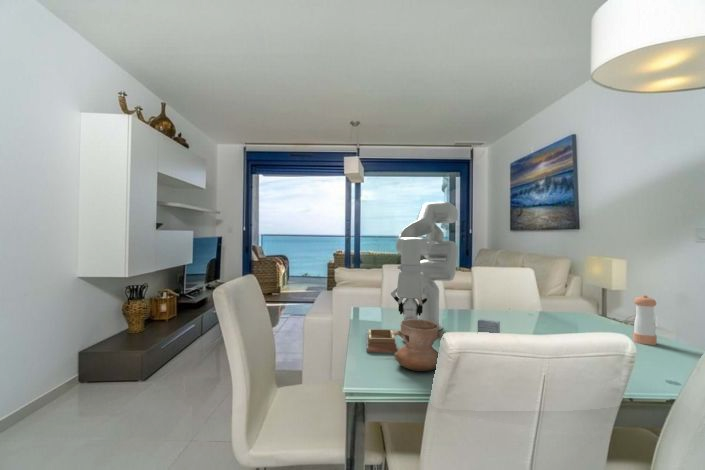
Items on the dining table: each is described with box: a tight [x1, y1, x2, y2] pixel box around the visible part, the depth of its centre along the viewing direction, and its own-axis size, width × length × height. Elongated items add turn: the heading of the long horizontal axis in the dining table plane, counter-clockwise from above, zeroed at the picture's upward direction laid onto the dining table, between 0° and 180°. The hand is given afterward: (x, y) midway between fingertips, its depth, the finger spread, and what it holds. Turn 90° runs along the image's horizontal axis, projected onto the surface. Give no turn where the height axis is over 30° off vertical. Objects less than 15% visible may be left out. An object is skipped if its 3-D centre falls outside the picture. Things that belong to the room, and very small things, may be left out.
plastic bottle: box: [401, 298, 418, 343], centre depth 135 cm, size 6×7×20 cm
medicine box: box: [477, 318, 501, 334], centre depth 138 cm, size 8×4×9 cm, turn 58°
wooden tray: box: [365, 329, 399, 354], centre depth 134 cm, size 24×11×4 cm, turn 178°
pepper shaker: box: [632, 294, 658, 346], centre depth 139 cm, size 7×7×19 cm
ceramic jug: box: [392, 319, 444, 372], centre depth 111 cm, size 18×14×14 cm
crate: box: [368, 328, 396, 344], centre depth 129 cm, size 13×9×4 cm
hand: (410, 313), depth 135 cm, fingers closed on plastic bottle, 6 cm apart
